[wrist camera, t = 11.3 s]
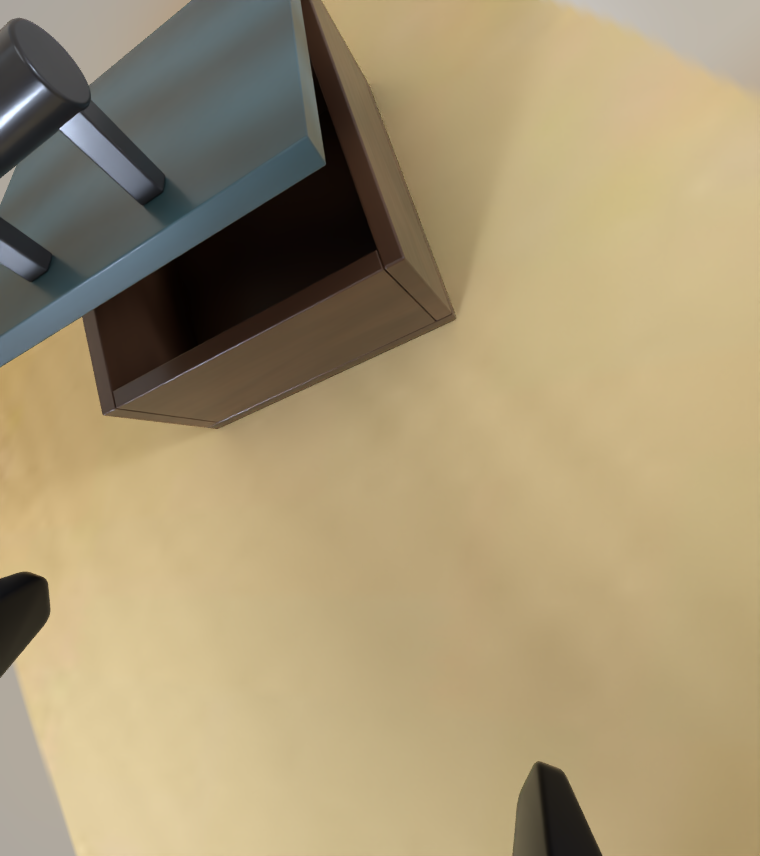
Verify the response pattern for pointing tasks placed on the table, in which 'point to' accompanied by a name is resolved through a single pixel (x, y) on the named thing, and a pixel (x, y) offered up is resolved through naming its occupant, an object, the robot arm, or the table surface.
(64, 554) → the table surface
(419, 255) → the box
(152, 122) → the lid
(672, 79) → the table surface
